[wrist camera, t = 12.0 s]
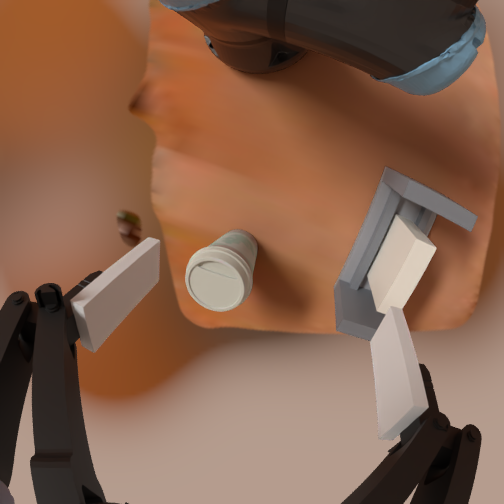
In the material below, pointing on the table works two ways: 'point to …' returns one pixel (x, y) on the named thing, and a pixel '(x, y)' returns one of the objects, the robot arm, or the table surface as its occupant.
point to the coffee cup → (223, 271)
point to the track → (370, 237)
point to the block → (398, 263)
